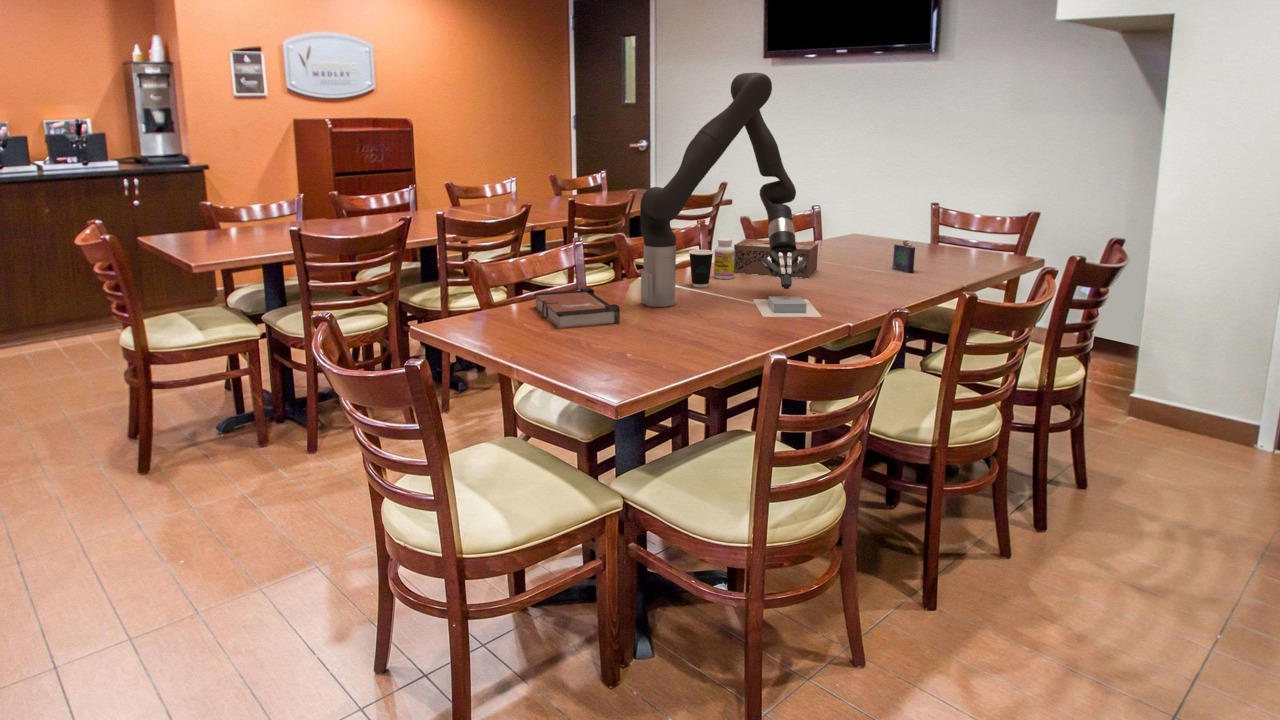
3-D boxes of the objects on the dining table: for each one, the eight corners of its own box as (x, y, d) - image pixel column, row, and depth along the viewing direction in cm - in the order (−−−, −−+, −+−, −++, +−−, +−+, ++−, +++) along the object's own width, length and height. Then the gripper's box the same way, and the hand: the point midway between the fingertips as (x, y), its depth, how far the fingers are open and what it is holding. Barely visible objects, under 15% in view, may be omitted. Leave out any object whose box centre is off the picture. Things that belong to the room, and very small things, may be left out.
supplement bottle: (710, 278, 296) (711, 239, 292) (718, 275, 302) (719, 237, 298) (729, 280, 293) (730, 241, 289) (736, 276, 299) (738, 238, 295)
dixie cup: (701, 282, 289) (701, 248, 286) (718, 286, 284) (719, 251, 280) (682, 285, 285) (683, 251, 282) (699, 289, 279) (700, 254, 276)
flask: (890, 269, 313) (893, 238, 310) (896, 268, 314) (899, 238, 311) (909, 273, 305) (912, 242, 302) (915, 272, 307) (918, 241, 304)
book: (532, 309, 254) (531, 292, 253) (590, 304, 260) (590, 287, 258) (555, 330, 230) (555, 311, 229) (619, 325, 236) (619, 306, 235)
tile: (768, 296, 255) (773, 303, 245) (800, 296, 255) (806, 303, 245) (768, 304, 255) (773, 312, 246) (799, 304, 255) (806, 312, 246)
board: (752, 301, 262) (752, 299, 262) (806, 301, 263) (807, 299, 262) (763, 318, 241) (763, 316, 241) (822, 318, 241) (822, 316, 241)
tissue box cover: (733, 273, 305) (734, 244, 303) (744, 266, 318) (745, 239, 315) (808, 279, 296) (809, 249, 293) (816, 272, 309) (818, 243, 306)
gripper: (760, 229, 255) (765, 280, 247) (806, 229, 255) (812, 280, 247) (757, 245, 262) (761, 294, 254) (802, 245, 262) (808, 294, 254)
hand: (786, 287), depth 250 cm, fingers closed
